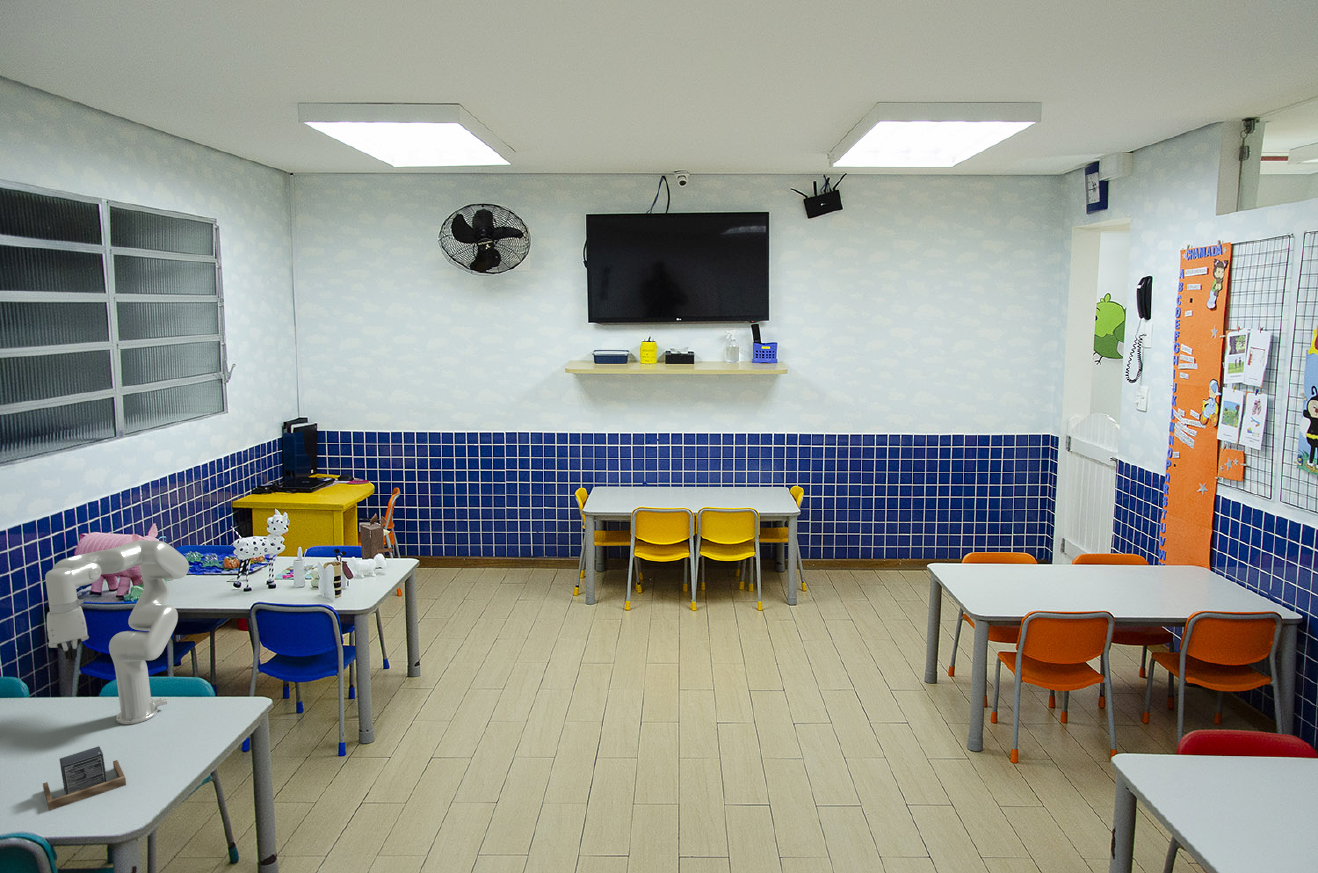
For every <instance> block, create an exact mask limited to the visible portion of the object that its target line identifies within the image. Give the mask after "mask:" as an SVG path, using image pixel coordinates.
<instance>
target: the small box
mask: <svg viewBox="0 0 1318 873" xmlns="http://www.w3.org/2000/svg"><path fill="white" fill-rule="evenodd" d="M59 764H60V766H59V767H60V771H61V779H62V784H63V790H64V793H65V795H68V794H71V793H74V792H77V791H80V790H83V789H86V788H89V787H92V786H95V785H98V784H101V783H104V782H107V781H108V778H107V773H106V767H105V766H106V765H105V758H104V752H103V750H102V749H101V746H99V745H97V746H95V747H93V748H89V749H85V750H82V751H79V752H76V753H72V754H70V755H67V756H64V757H59Z"/></svg>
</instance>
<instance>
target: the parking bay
mask: <svg viewBox="0 0 1318 873" xmlns="http://www.w3.org/2000/svg"><path fill="white" fill-rule="evenodd" d="M112 765H113V770H114V772H115V775H116V776H117V777H116V778H114V779H113V778H112V779H111V780H107V782H104V783H101V784H98V785H95V786H92V787H89V788H86V789H83V790H80V791H77V792H74V793H71V794H68V795H66V794H65V795H61V796H58V797H55V798H53V797H52V793H51V790H50V789H51V788H50V786H49V783H48V781H47V782H44V783H42V788H43V793H44V798H45V800H46V804H47V808H48V811H52V810H55V809H58V808H61V807H64V806H68V805H70V804H73V803H76V802H79V801H81V800H82V801H84V800H85V799H88V798H92V797H94V796H98V795H99V794H103V793H107V792H109V791H112V790H114V789H118V788H121V787H124V786H127V781H126V776H125V774H124V771H123V769H122V767H121V765H120V763H119V760H118V759H115V760H114V761H112Z"/></svg>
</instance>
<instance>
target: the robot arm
mask: <svg viewBox="0 0 1318 873" xmlns="http://www.w3.org/2000/svg"><path fill="white" fill-rule="evenodd" d="M138 566H139V571H140V574H141V577H142V581H143V589H142V592H141V593H140V596H139V598H138V600H137V602H136V603H135V605H134V607H133V609H132V611H131V612H130V615H129V617H128V622H127V623H128V625H129V627H130V628H131V629H134V630H137V631H132V630H126V631H120V632H118V633H116V634H115V635H114V636H112V638H111V639H110V640H109V644H108V650H109V654H110V657H111V660H112V662H113V665H114V671H115V678H116V685H117V686H116V687H117V693H118V701H119V709H120V712H119V713H118V714H117V715H116V717H115V719H116V722H117V723H118V724H120V725H134V724H139V723H142V722H145V721H147V720H150V719H151V718H153V717H155V715H156V714H157V713H158V712H159V711H158V707H160V706H165V705H167V704H168V699H167V698H164V699H162V698H161V697H160V698H156V699H153V698H152V695H151V694H152V693H151V686H150V679H149V670H148V665H147V662H146V661H153V660H156V659H158V658H159V657H160V655H161V656H162V653H163V652H164V650H165V648H166V646H167V645H168V642H169V640H170V638H171V636H172V635H173V633H174V631H175V628H176V626H177V624H178V619H179V613H178V610H177V609H176V607H174V606H172V605H170V604H166V602H167V600H168V598H169V595H170V594H169V588H168V586H167V585H168V584H167V582H166V580H180V579H182V578H184V577H185V576H187V574H188V572H189V569H190V564H189V561H188V559H187V557H186V556H184V555H183V554H182V553H180V552H179V550H177V549H175V548H174V547H173V546H172V545H170V544H168V543H167V542H165V541H162V540H143V539H141V540H135V541H131V542H129V543H124V544H123V545H119V546H117V547H116V546H115V547H113V548H108V549H102V550H97V551H93V552H88V553H81V554H77V555H73V556H70V557H66V558H63V559H60V560H59V561H57V563H55V564H54V565H53V567H52V569H51V570H48V571H47V572H46V574H45V577H44V578H45V585H46V593H47V599H48V607H49V611H48V612H47V614H46V630H47V638H48V640H49V641H48V648H54V649H55V648H59V649H60V650H63V651H64V652H63V653H64V657H65V660H68V661H67V662H69V663H72V662H76V658H77V657H78V653H77V648H78V647H79V645H80V644H81V643H82V642H84V641H86V640H89V638H90V636H89V634H88V627H87V622H86V617H85V614H84V612H83V607H82V606H80V605H82V604H84V603H85V602H84V599H83V598H82V599H81V598H80V599H79V598H78V593H77V588H78V587H82V586H88V585H90V584H93V583H95V582H96V581H98V580H99V578H100V577H101V575H107V574H109V575H110V574H117V573H121V572H123V571H126V570H129V569H131V568H134V567H138ZM70 641H71V642H70ZM67 642H70V647H69V646H68V644H67Z"/></svg>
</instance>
